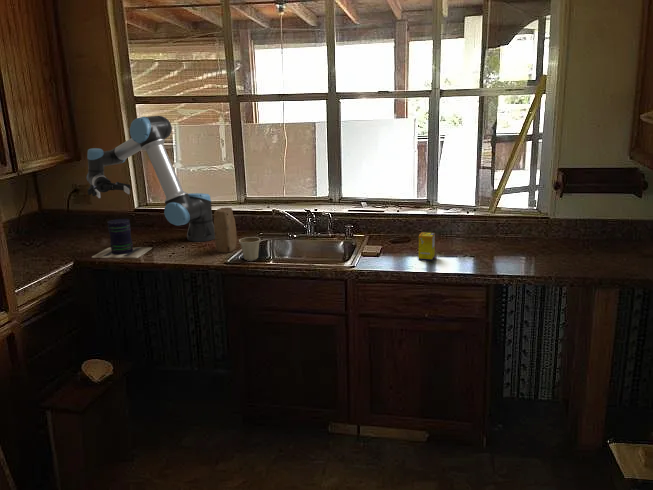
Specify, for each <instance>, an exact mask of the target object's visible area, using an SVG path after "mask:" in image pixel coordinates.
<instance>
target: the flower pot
mask: <svg viewBox="0 0 653 490" xmlns="http://www.w3.org/2000/svg"><path fill="white" fill-rule="evenodd" d="M238 242H239V244H240V247H241V251H242V254H243V259H244V260H245V261H248V260H249V261H255V260H257V259H259V246H260V243H261V238H260V237H256V236H249V237H243V238H240V239H239V240H238Z"/></svg>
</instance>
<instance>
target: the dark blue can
mask: <svg viewBox="0 0 653 490" xmlns="http://www.w3.org/2000/svg"><path fill="white" fill-rule="evenodd" d="M107 229H108V234H109V238H110V242H109V244H110V247H111V250H112V254H115V255H122V254H128V253H131V252H133V247H134V244H133V238H132V235H131V231H132V229H131V222H130V219H129V218H116V219H115V218H114V219H111V220H108V221H107Z"/></svg>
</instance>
